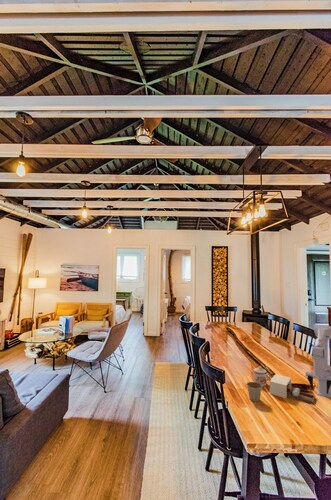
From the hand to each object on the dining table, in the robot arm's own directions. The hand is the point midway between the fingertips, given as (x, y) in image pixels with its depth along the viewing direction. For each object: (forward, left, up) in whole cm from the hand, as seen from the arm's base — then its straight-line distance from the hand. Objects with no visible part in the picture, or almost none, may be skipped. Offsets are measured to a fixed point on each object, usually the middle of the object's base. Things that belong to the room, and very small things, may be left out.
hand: (319, 391), depth 154 cm
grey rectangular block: (-8, -24, -10) cm, 27 cm away
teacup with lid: (-13, -37, -10) cm, 40 cm away
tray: (-8, -11, -10) cm, 17 cm away
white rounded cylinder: (-10, -14, -10) cm, 20 cm away
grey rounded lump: (-6, -14, -10) cm, 18 cm away
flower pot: (+13, -34, -10) cm, 38 cm away
